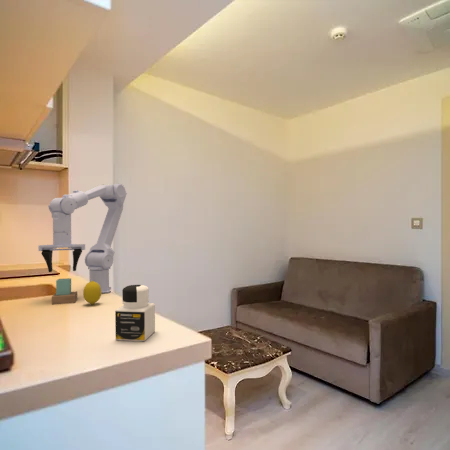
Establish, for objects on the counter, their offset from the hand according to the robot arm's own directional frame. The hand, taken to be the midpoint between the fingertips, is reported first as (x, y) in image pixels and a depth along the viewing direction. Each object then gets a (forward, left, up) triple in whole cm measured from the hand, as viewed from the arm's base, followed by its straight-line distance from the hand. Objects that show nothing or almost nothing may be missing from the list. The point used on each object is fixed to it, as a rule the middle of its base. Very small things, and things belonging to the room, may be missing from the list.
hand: (62, 271), depth 115 cm
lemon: (+9, +11, -11) cm, 17 cm away
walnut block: (+1, +1, -11) cm, 11 cm away
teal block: (+1, 0, -8) cm, 8 cm away
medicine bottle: (+44, +25, -11) cm, 51 cm away
